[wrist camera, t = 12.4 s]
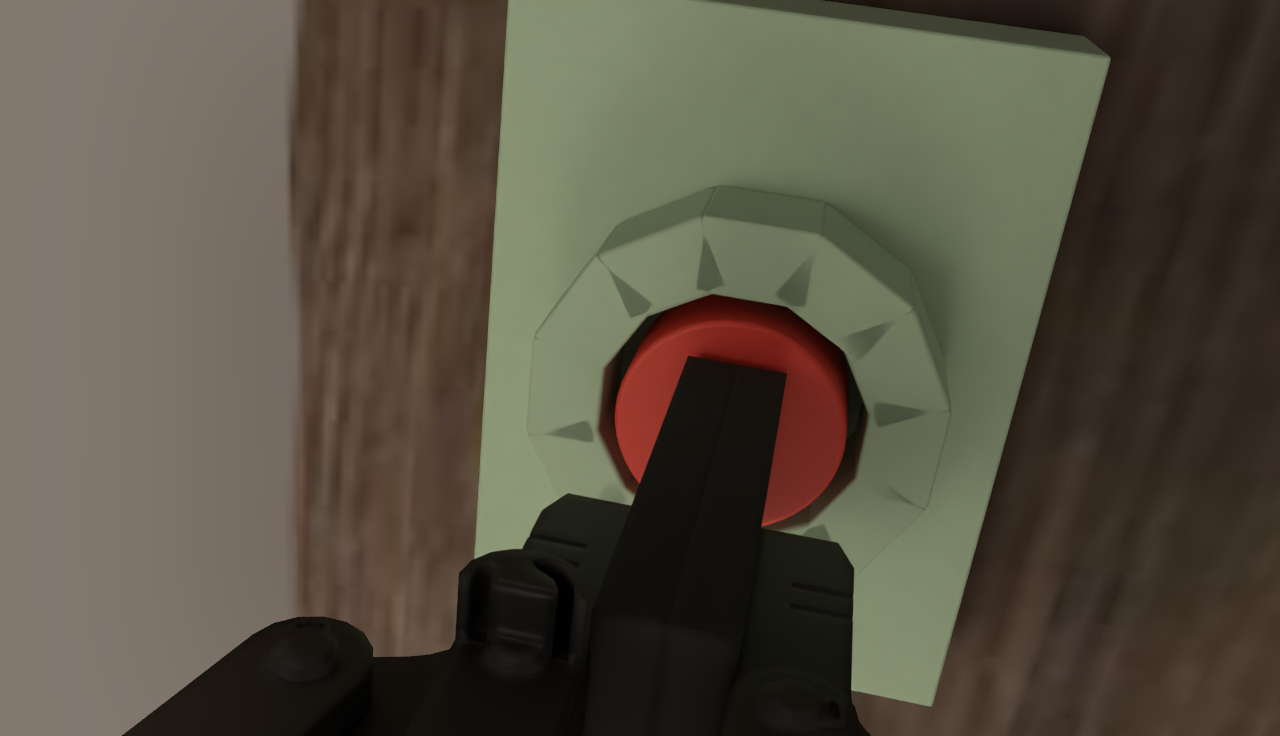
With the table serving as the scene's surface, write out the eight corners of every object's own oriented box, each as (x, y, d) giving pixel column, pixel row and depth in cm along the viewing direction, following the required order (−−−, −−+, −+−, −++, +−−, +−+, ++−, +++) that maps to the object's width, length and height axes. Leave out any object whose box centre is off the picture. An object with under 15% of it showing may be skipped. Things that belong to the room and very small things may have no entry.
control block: (545, -38, 20) (471, -17, 16) (1086, 36, 19) (1138, 77, 15) (502, 551, 25) (439, 669, 21) (927, 637, 24) (936, 777, 20)
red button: (646, 265, 19) (625, 303, 17) (867, 302, 18) (867, 343, 17) (623, 457, 20) (603, 507, 19) (827, 496, 20) (823, 550, 18)
